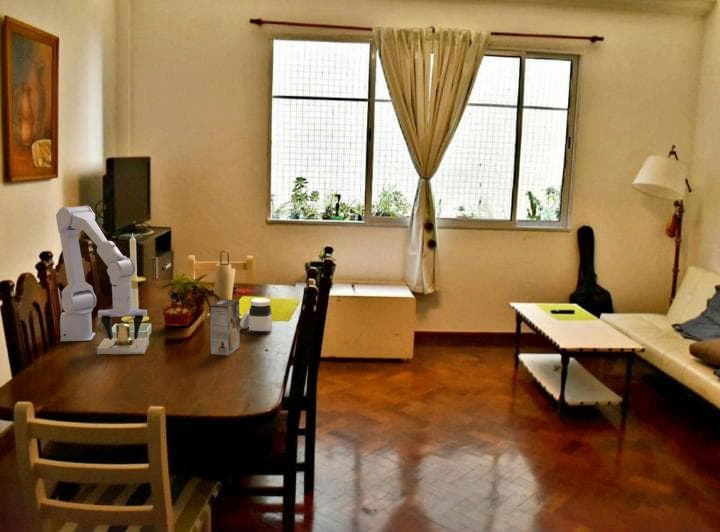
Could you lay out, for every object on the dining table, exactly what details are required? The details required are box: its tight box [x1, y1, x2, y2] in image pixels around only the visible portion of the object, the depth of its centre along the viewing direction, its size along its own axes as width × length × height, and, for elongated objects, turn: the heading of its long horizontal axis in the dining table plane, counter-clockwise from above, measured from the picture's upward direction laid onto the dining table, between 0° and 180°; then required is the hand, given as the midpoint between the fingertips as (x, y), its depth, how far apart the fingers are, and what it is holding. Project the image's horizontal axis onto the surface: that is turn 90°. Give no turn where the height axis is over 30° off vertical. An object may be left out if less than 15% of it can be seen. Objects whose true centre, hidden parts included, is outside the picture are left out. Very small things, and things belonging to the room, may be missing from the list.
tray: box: [112, 323, 153, 339], centre depth 228 cm, size 12×10×3 cm
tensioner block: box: [96, 337, 150, 356], centre depth 214 cm, size 14×11×2 cm
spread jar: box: [239, 297, 273, 336], centre depth 238 cm, size 12×11×12 cm
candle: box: [120, 232, 150, 324], centre depth 246 cm, size 10×10×32 cm
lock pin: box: [116, 322, 131, 346], centre depth 214 cm, size 4×4×8 cm
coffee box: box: [209, 298, 241, 356], centre depth 214 cm, size 9×6×16 cm
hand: (123, 338), depth 214 cm, fingers open, 7 cm apart
